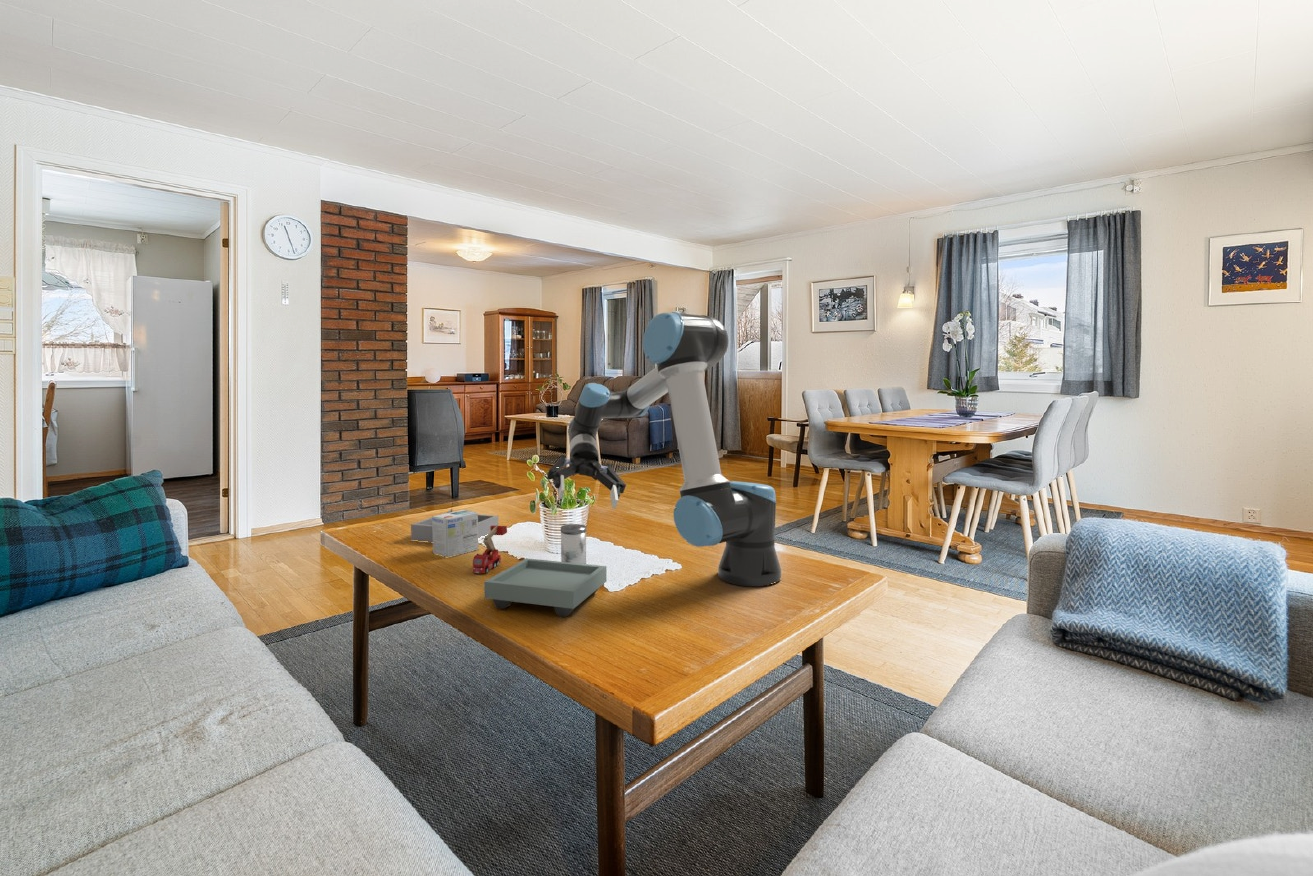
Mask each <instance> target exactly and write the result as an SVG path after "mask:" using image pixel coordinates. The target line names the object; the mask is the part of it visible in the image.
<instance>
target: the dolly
mask: <svg viewBox="0 0 1313 876" xmlns="http://www.w3.org/2000/svg"><path fill="white" fill-rule="evenodd" d="M483 582H484V586H483V587H484V589H483V590H484V591H483V592H484V599H487V600H488V599H489V600H492V602H493V605H494V607H495V608H497V609H499V610H505V609H506V608H508V607H510V606H511V604H512V602H514V603H521V604H522V603H523V604H530V605H531V604H532V605H537V606H538V605H539V606H547V607H553V608H554V611H555V614H556V615H557V616H559V617H560V618H566V617H568V616H570V615H571V613H573V611H574V609H575V608H576V607H578V606H579V605H580V604H581V603H583V601H585V600H586V599H587V598H588V597H590V596H591V595H594V594H595V593H596V592H598V590H599V589H600V588H601V587H602V586H603V585H605V583H607V565H600V564H599V565H598V564H590V563H589V564H587V563H586V564H579V563H569V562H561V561H558V560H547V559H546V560H545V559H535V558H525V559H522V560H521V561H519V562H517V563H516V564H514V565H512V566H510V567H508V568H506V569H505V570H503V571H501V572H499V573H497V574H496V575H494V576H492V577H490V578H488V579H486V580H484V581H483Z"/></svg>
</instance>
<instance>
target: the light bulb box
mask: <svg viewBox="0 0 1313 876" xmlns="http://www.w3.org/2000/svg"><path fill="white" fill-rule="evenodd" d="M445 513H446V512H445ZM478 514H479V513H478V512H477V511H472V510H467V509H459V510H455V511H452V512H451V513H446V514H443V513H441V515H440V514H438V515H432V516H431V517H432V532H433V543H432V550H433V552H432V553H434V554H438V555H442V556H445V557H450V556H453V557H455V556H454V555H457V556H459V555H458V554H461V555H465V554H468V553H472V552H475V551H474V550H476V551H478V550H477V549H479V541H478ZM471 551H472V552H471ZM467 552H468V553H467ZM464 553H465V554H464ZM434 554H433V555H434ZM450 558H451V557H450Z"/></svg>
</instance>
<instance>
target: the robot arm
mask: <svg viewBox="0 0 1313 876" xmlns="http://www.w3.org/2000/svg"><path fill="white" fill-rule="evenodd" d="M728 347H729V336H728V331H727V330H726V327H725V326H724V325H723V323H722V322H720V321H719V320H718V319H717V318H715V317H713V316H710V315H703V314H702V315H699V314H688V313H679V312H678V311H675V312H673V311H672V312H662V313H658V314H656V315H654V316H653V317H652V318H651V320H650V321H648V323H647V327H646V329H645V331H644V333H643V338H642V349H643V353H644V356H645V357H646V359H647V360H648V361H649V362H651V363H653V364H656V367H654V368H653V369H651V370H650V371H649V372H647V373H646V374H645V375H644V376H642V377H641V378H640V379H639V380H637V381H636V382H635V383H633V384H632V385H631V386H629V387H628V388H626V389H625V390H623V391H610V390H609V388H608V387H606V386H605V385H603V384H601V383H596V382H588V383H586V384H585V385H584V386H583V388H582V391H581V393H580V396H579V399H578V400H579V401H578V404H577V408H576V410H575V414H574V416H573V418H572V420H570V422H569V424H568V430H567V434H568V435H567V436H568V442H569V443H568V444H569V454H570V455H569V456H570V457H569V458H570V459H569V458H567V456H566V455H565V454H561V456H560V459H559V460H558V461H557V462H555V463H554V465H552V466H551V467H550V468H549V469H548V471H547V475H546V479H547V480H550V481H551V480H553V481H552V484H553V485H554V488H555V489H557V490H558V499H559V500H563V497H564V494H565V479H567V478H569V477H572V476H573V477H574V476H575V475H579V476H586V477H589V478H590V477H591V478H592V479H594V480H595V481H598V482H600V484H602V485H603V486H604V487H605V488H606V489H608V490H609V491H610V493H609V495H610V501H611V508H612V509H613V510H616V508H617V505H618V502H619V499H620V498H621V494H624V492H625V489H626V487H627V484H626V482H624V481H623V479H622V478H621V477H620V476H619V475H618V474H617V472H616V471H615V470H614V469H613V467H612V465H611V464H610V463H607V464H606V466H605V465H601V463H600V458H599V452H598V451H599V449H598V444H597V434H598V431H599V428H600V425H601V423H602V419H620V418H621V419H624V418H633V419H635V418H639V417H644V416H645V415H646V414H647V412H648V411H649V409H650V406H651V405H652V404H653V403H654V402H656V401H657V400H658V399H660V398H661V397H663V396H665V395H666V394H667V393H668V398H669V403H670V409H671V413H672V420H673V426H674V429H675V436H676V441H677V447H678V451H679V458H680V462H681V468H682V474H683V479H684V482H683V484H682V485H681V487H680V488H679V494H680V498H679V499H678V500H677V501H676V502H675V505H674V509H673V523H674V525H675V528H676V529H677V532H678V534H679V535H680V536H681V539H684V540H685V541H686V542H687V543H688V544H690V545H692V546H693V547H699V548H700V547H702V548H703V547H711V546H712V547H713V546H717V545H718V544H722V543H725V547H724V549H723V552H722V556H721V558H720V561H719V564H718V569H717V570H718V571H717V573H718V574H717V577H718V578H719V579H720V581H721V580H722V581H723V582H726V583H728V584H731V585H736V586H743V587H764V586H763V585H767V586H769V585H768V584H771V583H774V582H778V581H779V580H780V578H781V579H782V567H781V565H780V561H779V558H778V557H779V556H778V554H777V551H776V547H775V546H776V545H775V542H776V541H775V540H776V539H775V536H776V514H777V513H776V511H777V510H776V507H777V500H776V491H775V488H774V487H772V486H771V485H768V484H763V483H756V482H755V483H754V482H746V481H739V480H738V481H735V480H734V481H733V480H729V479H727V478H726V477H725V476H724V475H723V474H722V471H721V470H722V469H721V464H720V463H721V462H720V458H719V454H718V453H719V452H718V448H717V442H716V437H715V431H714V428H713V422H712V417H711V411H710V405H709V402H708V395H707V391H706V384H705V381H704V375H703V374H704V373H705V372H706V371H708V370H710V369H711V368H712V367H713V368H714V366H716V364H718V363H719V362H720V361H721V360H722V359H723V358H724V356H725V355H726V353H727V351H728ZM567 465H568V466H567ZM556 467H559V468H556ZM780 581H781V580H780ZM780 581H779V582H780ZM779 582H778V583H779Z"/></svg>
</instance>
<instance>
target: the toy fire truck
mask: <svg viewBox="0 0 1313 876" xmlns="http://www.w3.org/2000/svg"><path fill="white" fill-rule="evenodd" d="M490 529H491V532H490V533H489V534H488V535H487V536H485V538H483V539H482V543H483V544H484V546H485V547H486V549H485V550H484V551H483V553H482V554H480V553H476V554H475V555H474V556H473V559H472V573H474V574H488V573H489V571H490V570H492V569H495V568H496V567H499V565H500V563H502V562H501V559H502V557H501V554H499V549H498V548H497V549H496V546H495V544H494V542H493V540H492V538H493V537H494V536H504V535H506V534H507V533H508V525H498V526H491V527H490ZM487 572H488V573H487Z"/></svg>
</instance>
